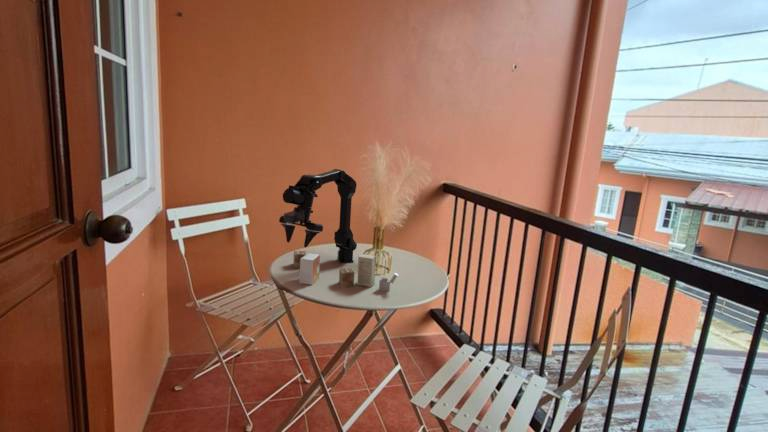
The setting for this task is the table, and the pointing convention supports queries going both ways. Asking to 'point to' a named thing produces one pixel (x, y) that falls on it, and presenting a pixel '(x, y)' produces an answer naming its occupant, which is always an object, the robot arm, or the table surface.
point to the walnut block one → (346, 277)
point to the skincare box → (366, 270)
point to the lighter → (386, 283)
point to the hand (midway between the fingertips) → (296, 244)
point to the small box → (309, 268)
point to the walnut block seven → (298, 258)
